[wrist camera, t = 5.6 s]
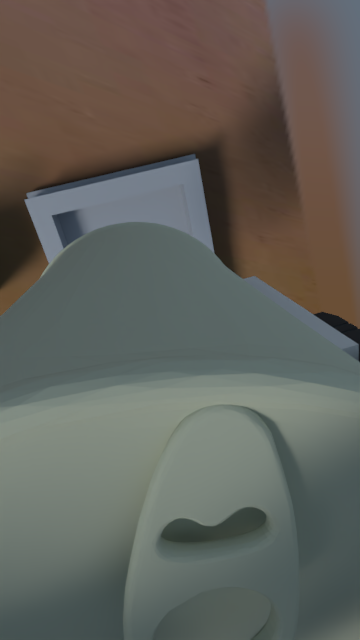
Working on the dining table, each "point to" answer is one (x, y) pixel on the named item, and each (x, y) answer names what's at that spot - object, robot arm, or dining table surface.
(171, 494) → the can
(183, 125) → the dining table surface
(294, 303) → the robot arm
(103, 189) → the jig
